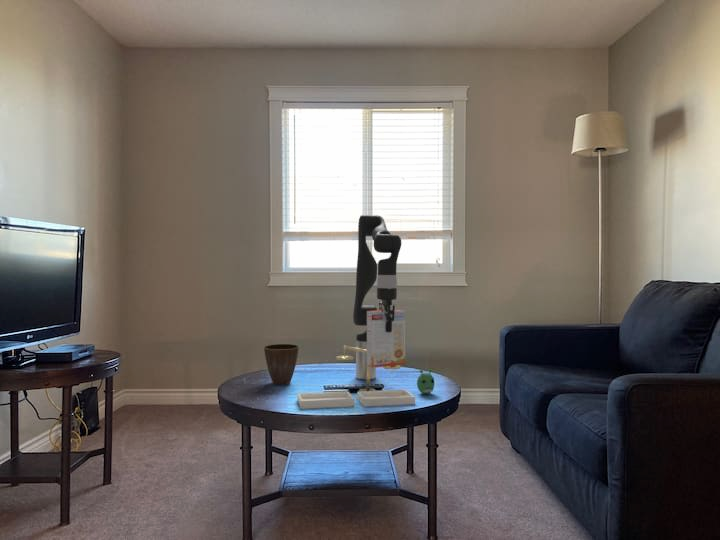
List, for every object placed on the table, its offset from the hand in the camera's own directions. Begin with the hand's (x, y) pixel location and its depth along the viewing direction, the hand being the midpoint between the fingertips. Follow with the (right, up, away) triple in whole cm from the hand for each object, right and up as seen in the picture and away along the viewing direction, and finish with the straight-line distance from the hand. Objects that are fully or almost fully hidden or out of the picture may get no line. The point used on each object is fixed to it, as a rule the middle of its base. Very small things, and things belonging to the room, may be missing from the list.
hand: (386, 330), depth 198 cm
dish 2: (0, -27, 0) cm, 27 cm away
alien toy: (+17, -27, +12) cm, 34 cm away
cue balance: (-7, -27, +11) cm, 30 cm away
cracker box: (0, -13, 0) cm, 13 cm away
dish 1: (-23, -27, -4) cm, 35 cm away
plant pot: (-44, -26, +28) cm, 59 cm away
